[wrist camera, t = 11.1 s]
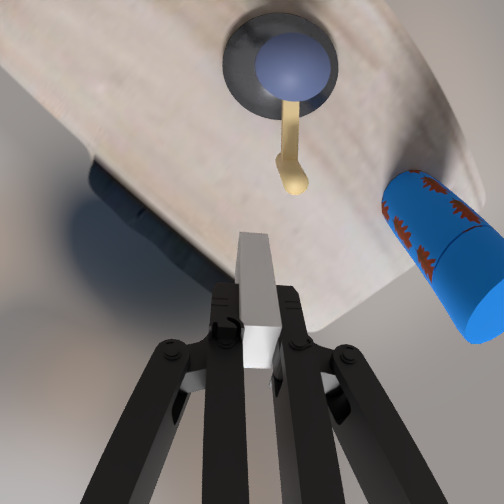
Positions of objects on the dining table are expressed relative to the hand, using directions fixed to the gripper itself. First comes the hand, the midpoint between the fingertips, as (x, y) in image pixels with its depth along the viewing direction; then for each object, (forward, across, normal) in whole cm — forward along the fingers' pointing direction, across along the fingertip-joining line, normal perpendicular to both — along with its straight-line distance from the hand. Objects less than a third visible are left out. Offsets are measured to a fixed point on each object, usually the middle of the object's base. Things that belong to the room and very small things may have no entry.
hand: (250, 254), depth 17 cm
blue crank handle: (+20, +4, +6) cm, 22 cm away
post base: (+26, +4, +10) cm, 28 cm away
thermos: (+27, +27, -6) cm, 38 cm away
